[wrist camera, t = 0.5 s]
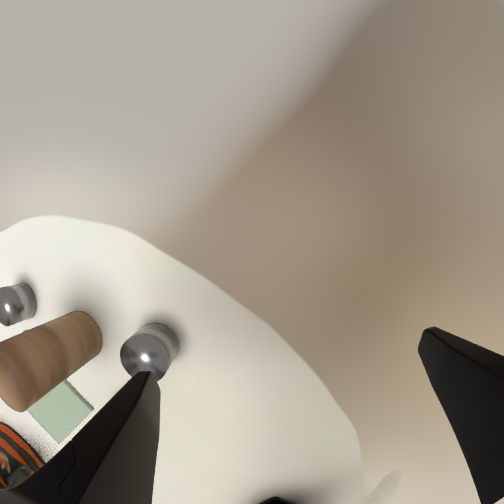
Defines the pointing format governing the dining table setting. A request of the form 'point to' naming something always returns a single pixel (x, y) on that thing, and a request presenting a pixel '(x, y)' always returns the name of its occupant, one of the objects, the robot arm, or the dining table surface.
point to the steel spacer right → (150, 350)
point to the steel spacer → (16, 304)
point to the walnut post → (46, 357)
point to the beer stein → (15, 459)
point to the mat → (60, 410)
